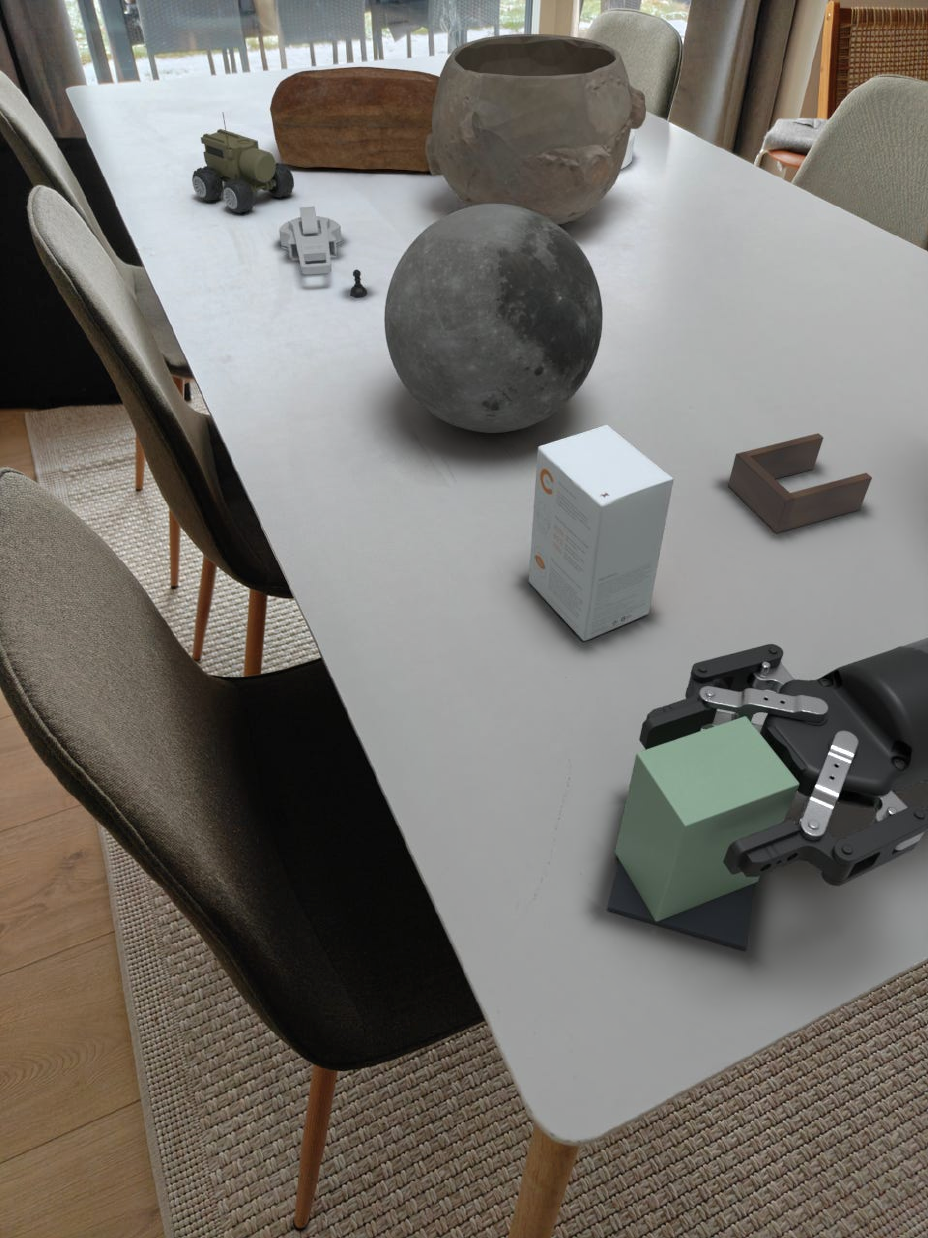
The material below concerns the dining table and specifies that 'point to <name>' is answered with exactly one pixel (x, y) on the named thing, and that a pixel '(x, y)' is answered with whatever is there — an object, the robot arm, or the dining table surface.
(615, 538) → the small box
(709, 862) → the green rectangular block
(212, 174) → the toy vehicle
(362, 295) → the chess pawn
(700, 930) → the rubber mat
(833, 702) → the robot arm
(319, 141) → the bread
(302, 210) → the zipper pull
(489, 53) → the bowl
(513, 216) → the decorative sphere
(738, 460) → the u-shaped bracket
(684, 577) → the dining table surface
